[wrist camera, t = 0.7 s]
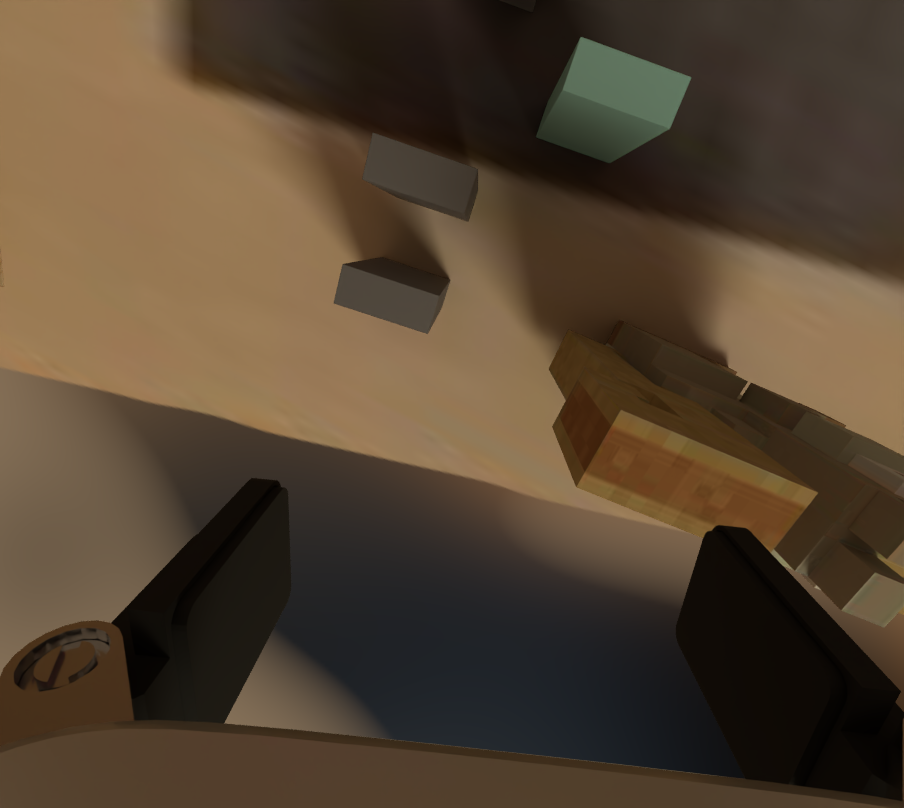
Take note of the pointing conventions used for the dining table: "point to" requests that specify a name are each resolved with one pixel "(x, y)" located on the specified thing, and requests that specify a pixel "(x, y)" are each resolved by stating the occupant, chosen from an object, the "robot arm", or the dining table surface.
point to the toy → (733, 463)
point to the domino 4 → (610, 102)
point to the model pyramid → (1, 273)
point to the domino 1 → (421, 177)
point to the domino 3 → (522, 4)
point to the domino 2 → (392, 292)
